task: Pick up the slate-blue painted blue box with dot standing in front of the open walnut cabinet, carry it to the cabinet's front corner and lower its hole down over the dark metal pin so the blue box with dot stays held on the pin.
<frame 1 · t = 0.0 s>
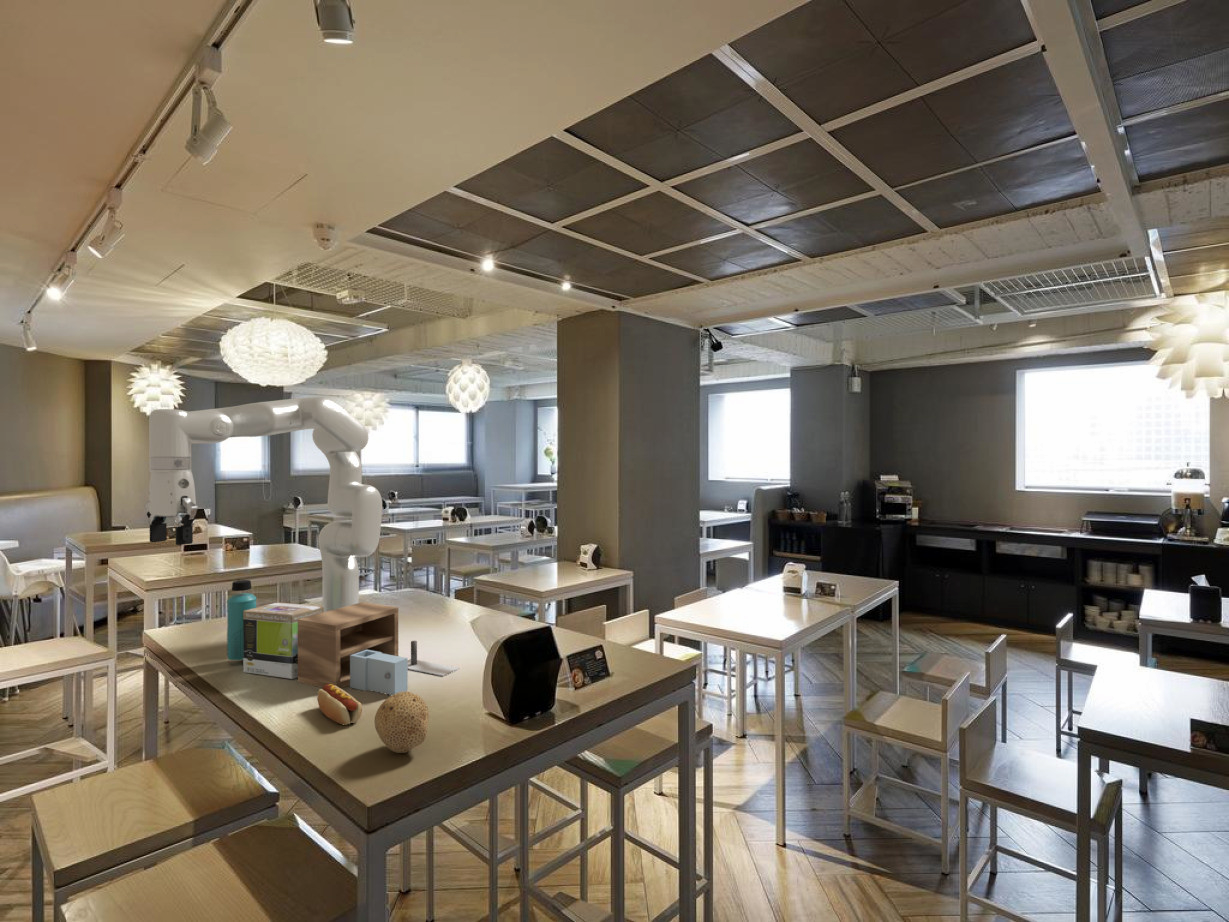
hand: (171, 542, 137), 31 cm above the table, tool pointing down, fingers open, 9 cm apart
beverage bottle: (242, 663, 151), on the table
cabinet: (350, 673, 144), on the table
tea box: (284, 670, 146), on the table
natural sponge: (402, 751, 106), on the table
blue box with dot: (366, 685, 136), on the table
food: (339, 717, 120), on the table
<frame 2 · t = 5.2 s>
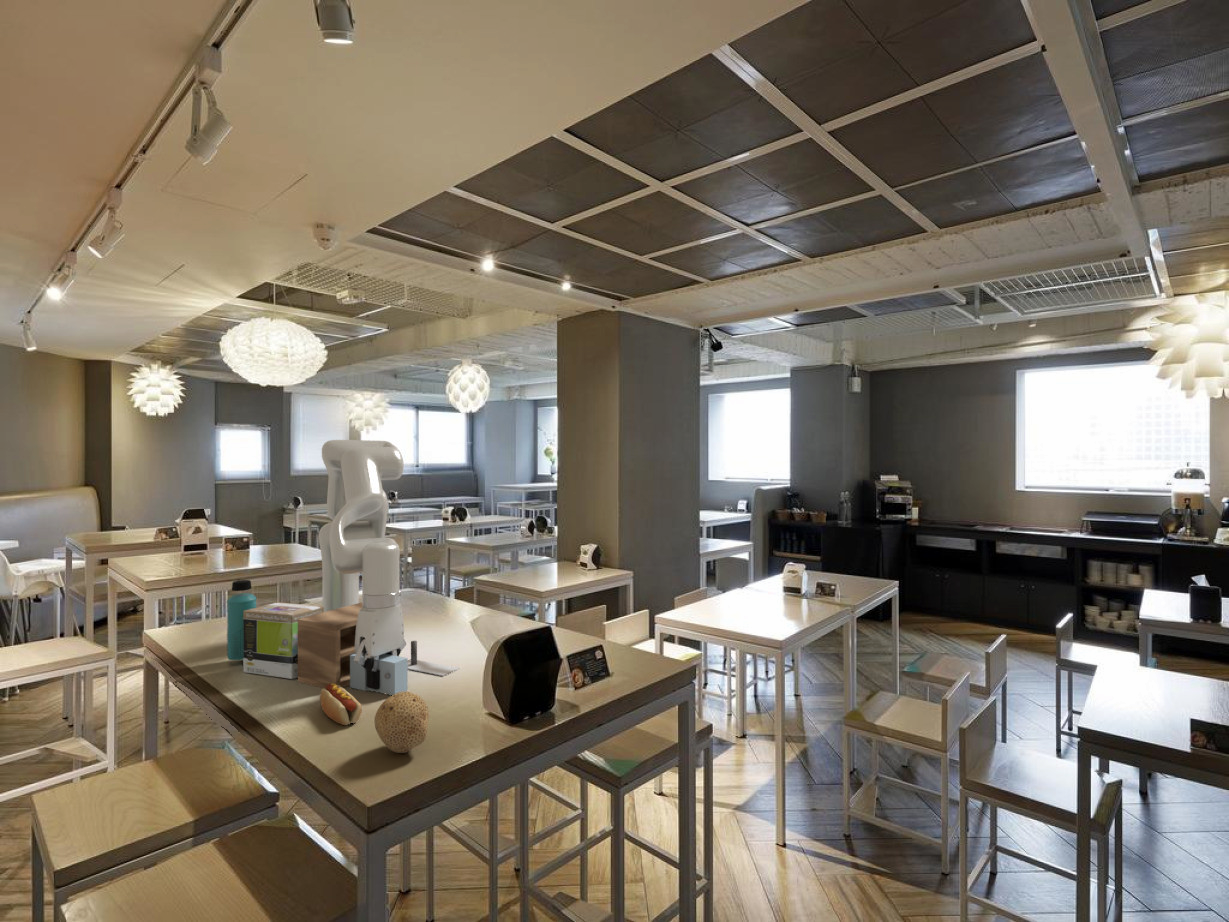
hand: (381, 684, 134), 1 cm above the table, tool pointing down, fingers closed on blue box with dot, 3 cm apart
blue box with dot: (366, 685, 136), on the table, touching gripper
everything else where it was.
when the fingers open (2 cm above the table, at t = 10.3 s): blue box with dot stays where it is, resting on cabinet.
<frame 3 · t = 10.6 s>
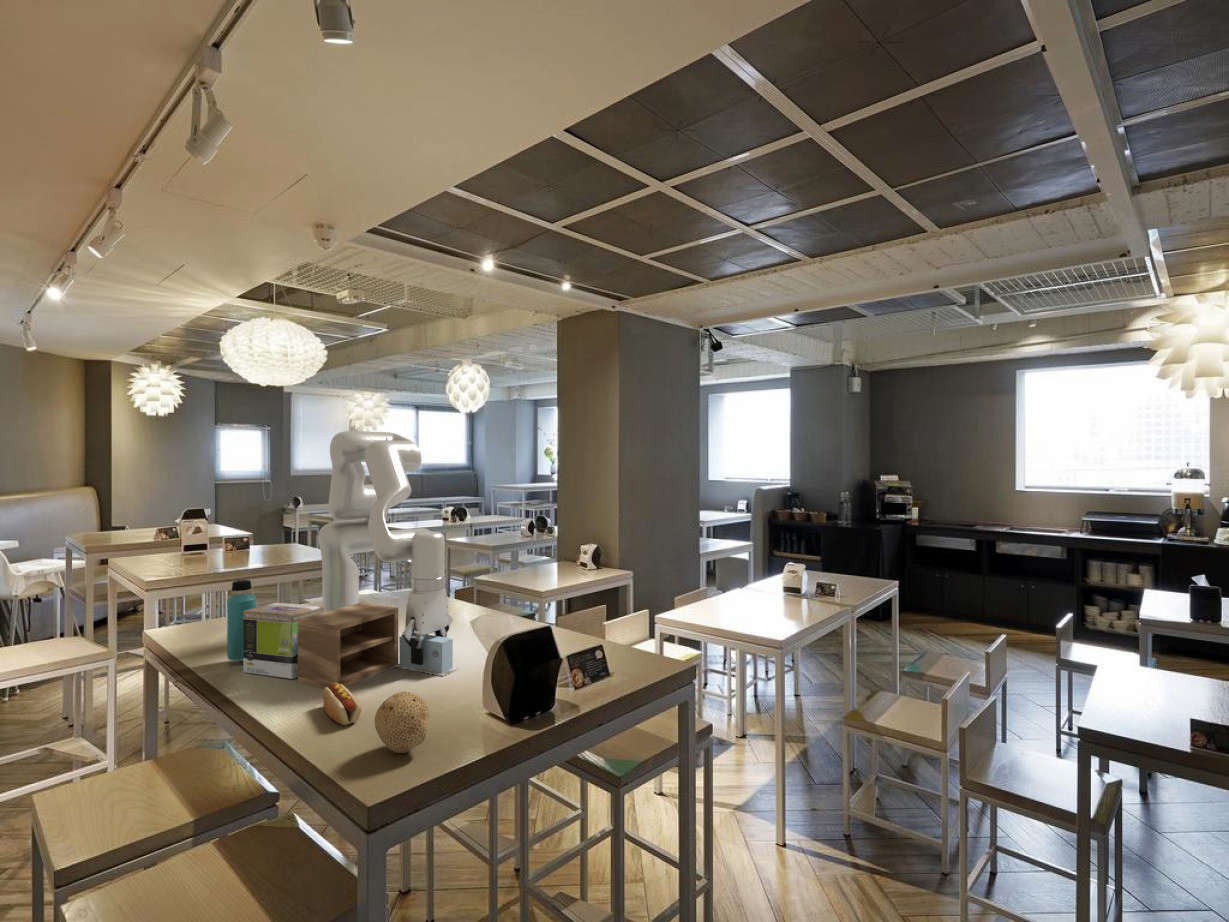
hand: (428, 658, 147), 2 cm above the table, tool pointing down, fingers open, 6 cm apart
blue box with dot: (413, 664, 149), resting on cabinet
everything else where it was.
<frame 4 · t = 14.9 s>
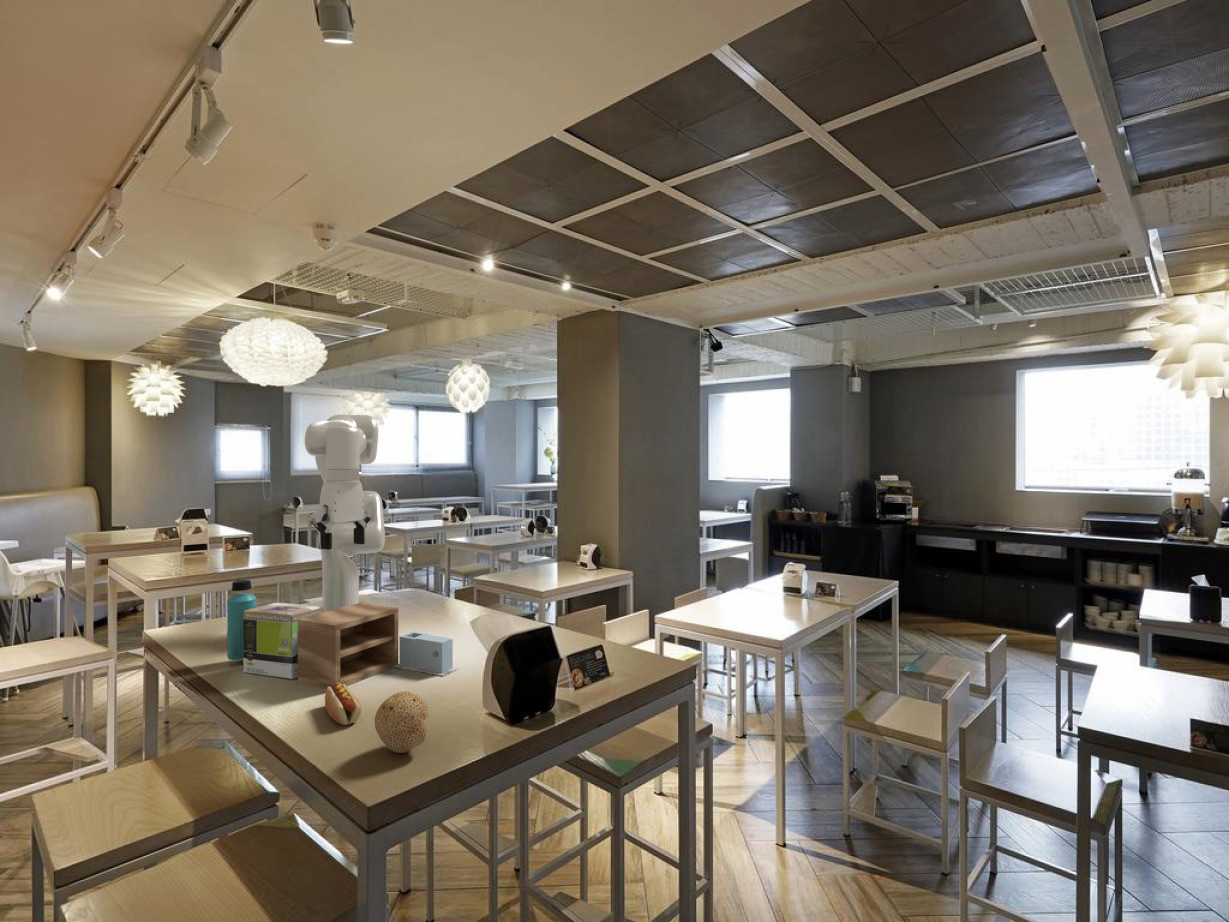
hand: (343, 546, 151), 28 cm above the table, tool pointing down, fingers open, 9 cm apart
nothing on the table moved.
at the end: blue box with dot 0.1 cm from the target spot on the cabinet, point 0.3 cm above the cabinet's base; blue box with dot tilted 0°; the gripper is holding nothing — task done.
